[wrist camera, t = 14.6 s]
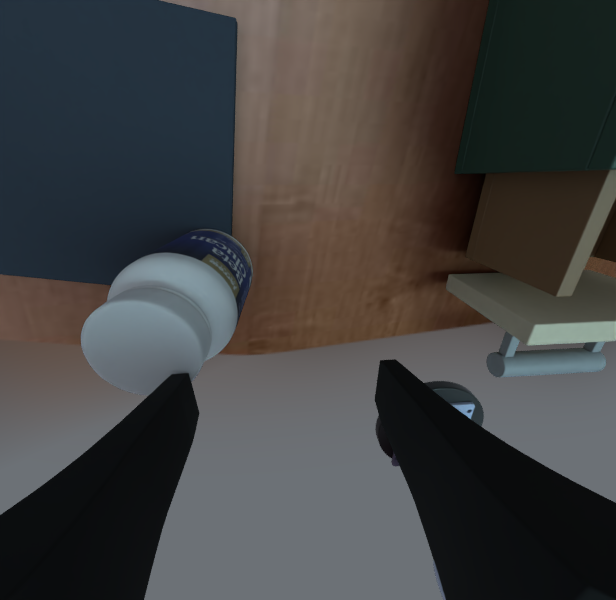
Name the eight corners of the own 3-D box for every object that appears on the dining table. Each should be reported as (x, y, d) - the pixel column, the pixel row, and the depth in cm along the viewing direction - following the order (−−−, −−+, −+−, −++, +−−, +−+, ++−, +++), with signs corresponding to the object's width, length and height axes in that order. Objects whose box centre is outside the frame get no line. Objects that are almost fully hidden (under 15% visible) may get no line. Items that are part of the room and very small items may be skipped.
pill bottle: (267, 251, 18) (248, 324, 9) (235, 314, 20) (193, 427, 11) (187, 210, 16) (71, 249, 7) (161, 282, 18) (41, 382, 9)
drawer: (558, 335, 22) (674, 402, 16) (432, 341, 21) (498, 414, 15) (676, 79, 15) (983, 1, 8) (493, 75, 14) (673, -14, 8)
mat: (230, 294, 19) (229, 297, 19) (-168, 254, 16) (-181, 256, 16) (237, 23, 13) (235, 17, 13) (-394, -121, 10) (-425, -135, 10)
